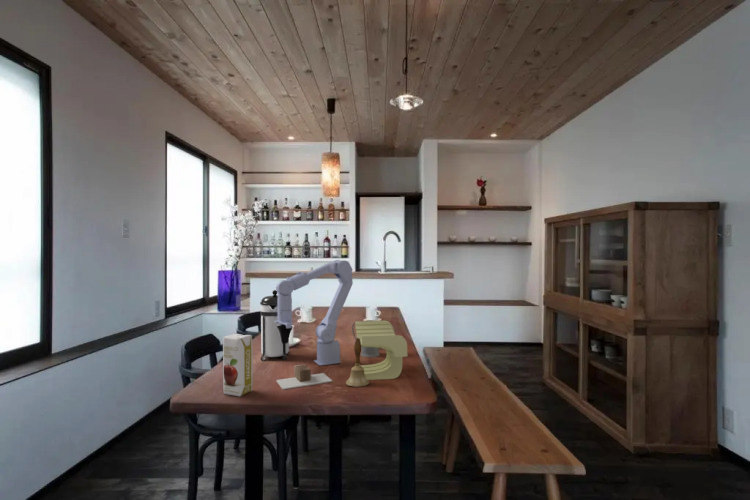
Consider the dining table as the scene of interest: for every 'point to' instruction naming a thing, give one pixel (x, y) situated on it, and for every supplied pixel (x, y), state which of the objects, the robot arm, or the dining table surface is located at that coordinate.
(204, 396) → the dining table surface
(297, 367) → the walnut block
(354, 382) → the hand bell
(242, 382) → the juice carton
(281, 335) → the robot arm
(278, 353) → the coffee press
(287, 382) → the felt mat
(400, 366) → the slatted curved stool
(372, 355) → the glass holder
